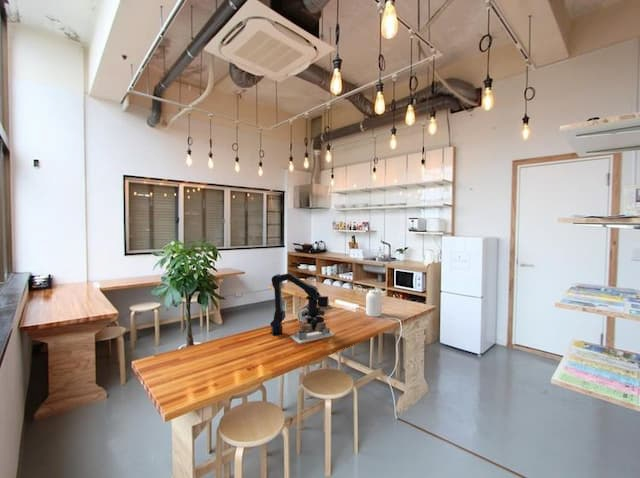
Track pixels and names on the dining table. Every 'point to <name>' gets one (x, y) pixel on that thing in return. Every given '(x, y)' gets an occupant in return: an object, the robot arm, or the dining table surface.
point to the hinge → (300, 317)
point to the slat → (308, 328)
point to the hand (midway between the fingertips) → (312, 329)
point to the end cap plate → (311, 335)
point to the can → (374, 303)
